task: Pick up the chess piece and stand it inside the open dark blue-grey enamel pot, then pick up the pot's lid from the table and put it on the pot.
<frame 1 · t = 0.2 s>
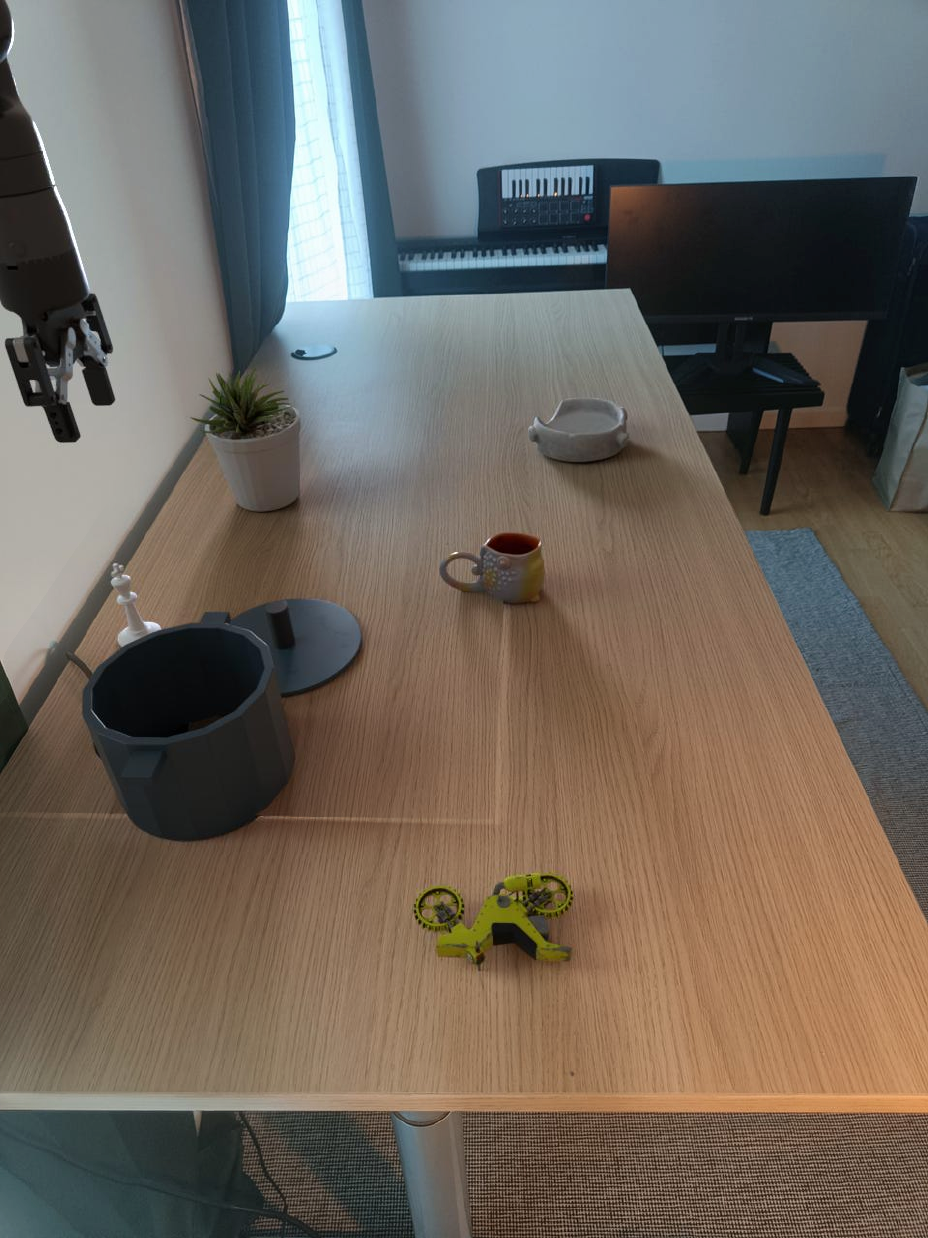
hand: (87, 421, 85), 25 cm above the table, tool pointing down, fingers open, 8 cm apart
dish: (582, 447, 131), on the table
pot: (209, 773, 80), on the table
mug: (493, 592, 101), on the table
chess piece: (141, 640, 97), on the table
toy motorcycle: (497, 937, 65), on the table
lid: (285, 646, 94), point 1 cm above the table
potted plant: (264, 500, 122), on the table
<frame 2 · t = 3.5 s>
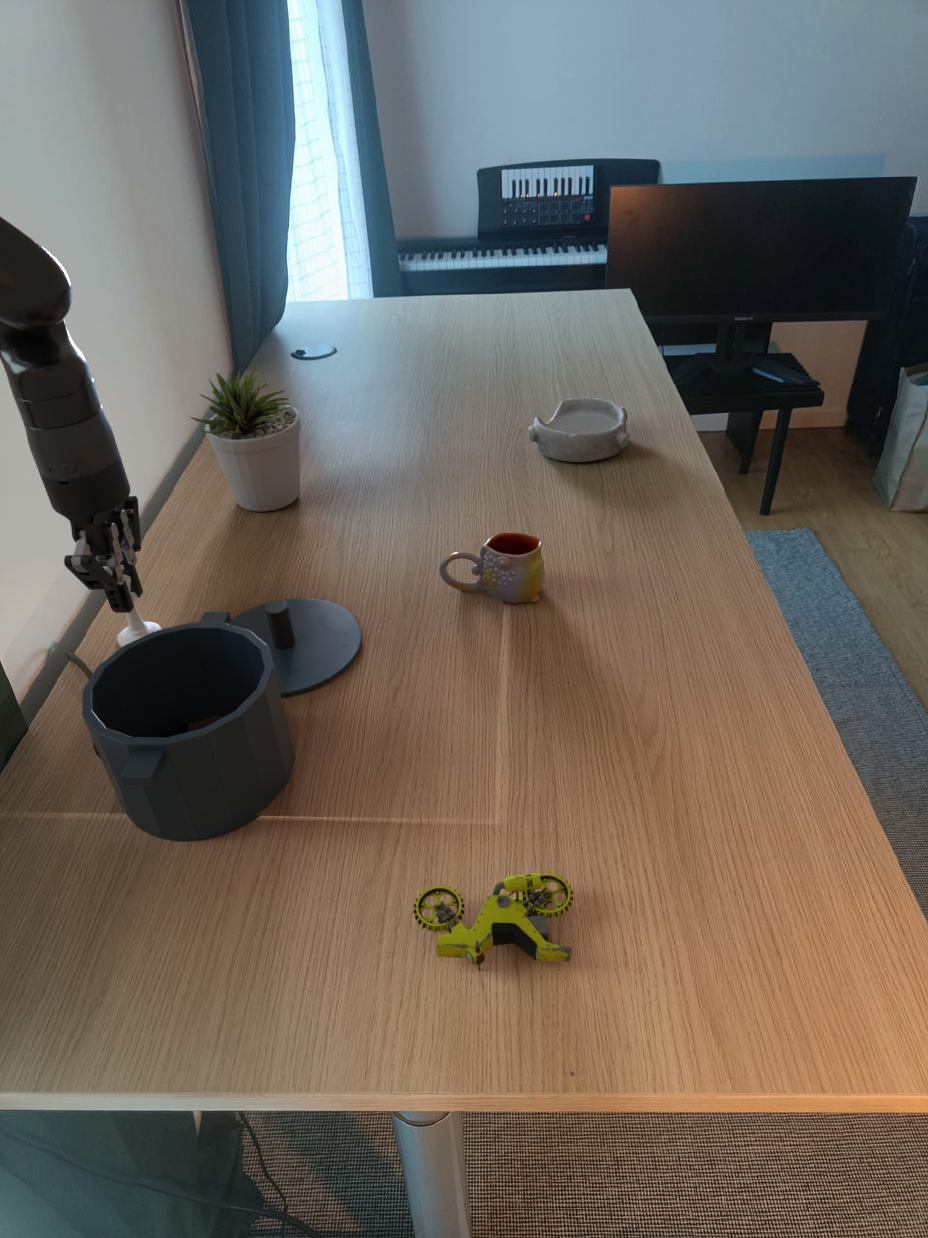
hand: (128, 602, 94), 5 cm above the table, tool pointing down, fingers closed on chess piece
chess piece: (141, 640, 97), on the table, touching gripper
everything else where it was.
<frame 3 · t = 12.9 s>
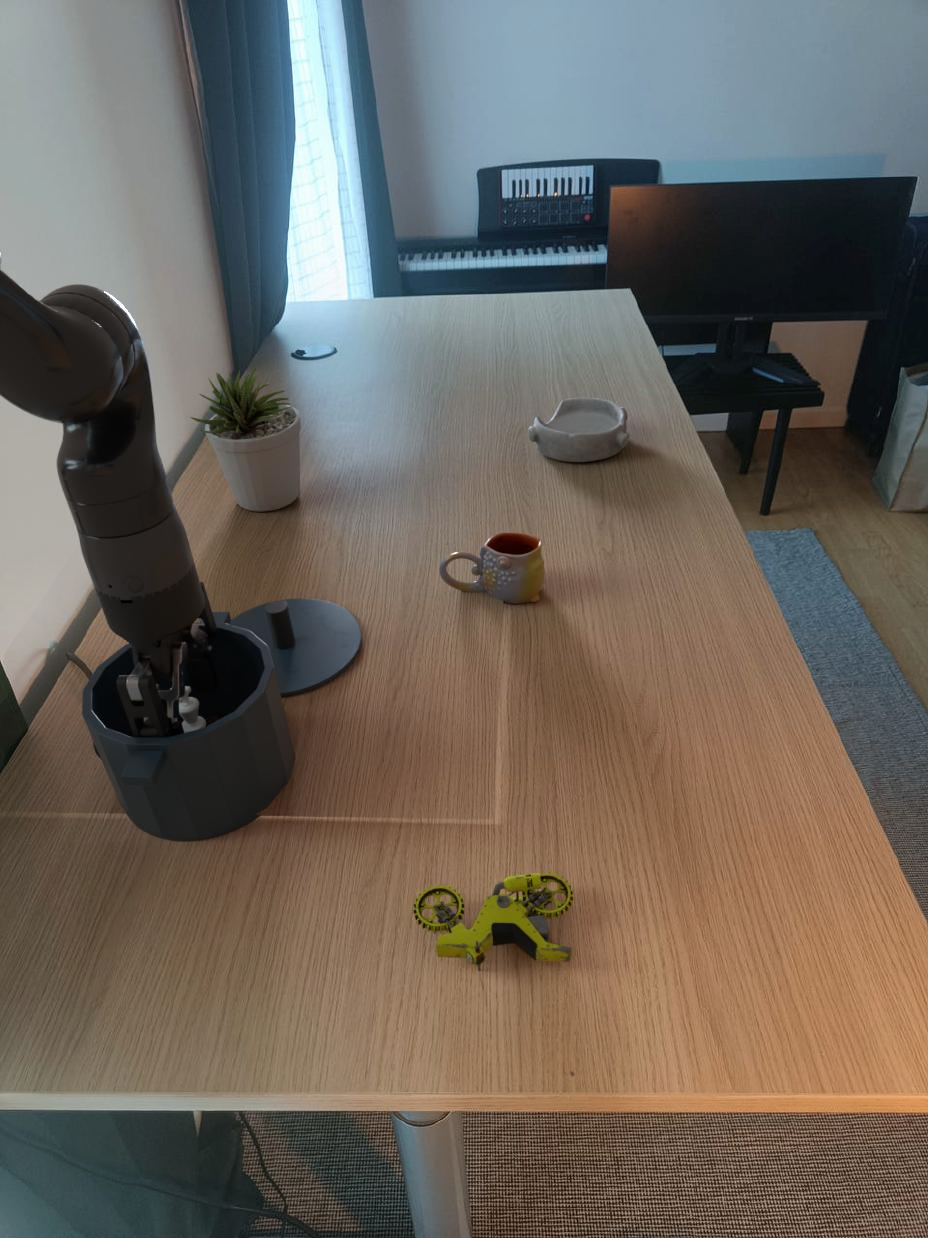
hand: (192, 721, 76), 7 cm above the table, tool pointing down, fingers open, 8 cm apart
chess piece: (208, 771, 80), resting on pot
everything else where it was.
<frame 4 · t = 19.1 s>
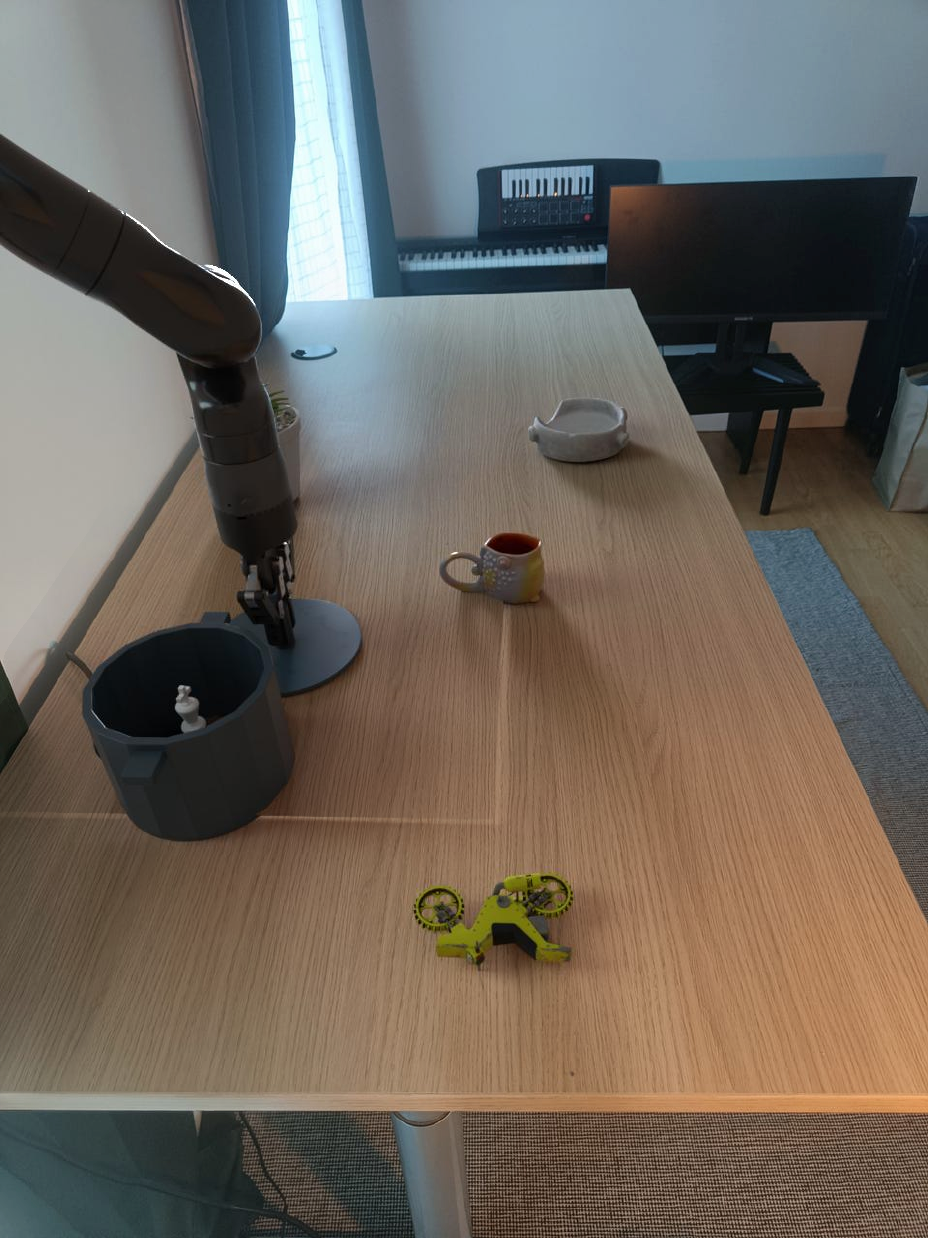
hand: (282, 634, 93), 2 cm above the table, tool pointing down, fingers closed on lid, 2 cm apart
lid: (285, 646, 94), point 1 cm above the table, touching gripper
everything else where it was.
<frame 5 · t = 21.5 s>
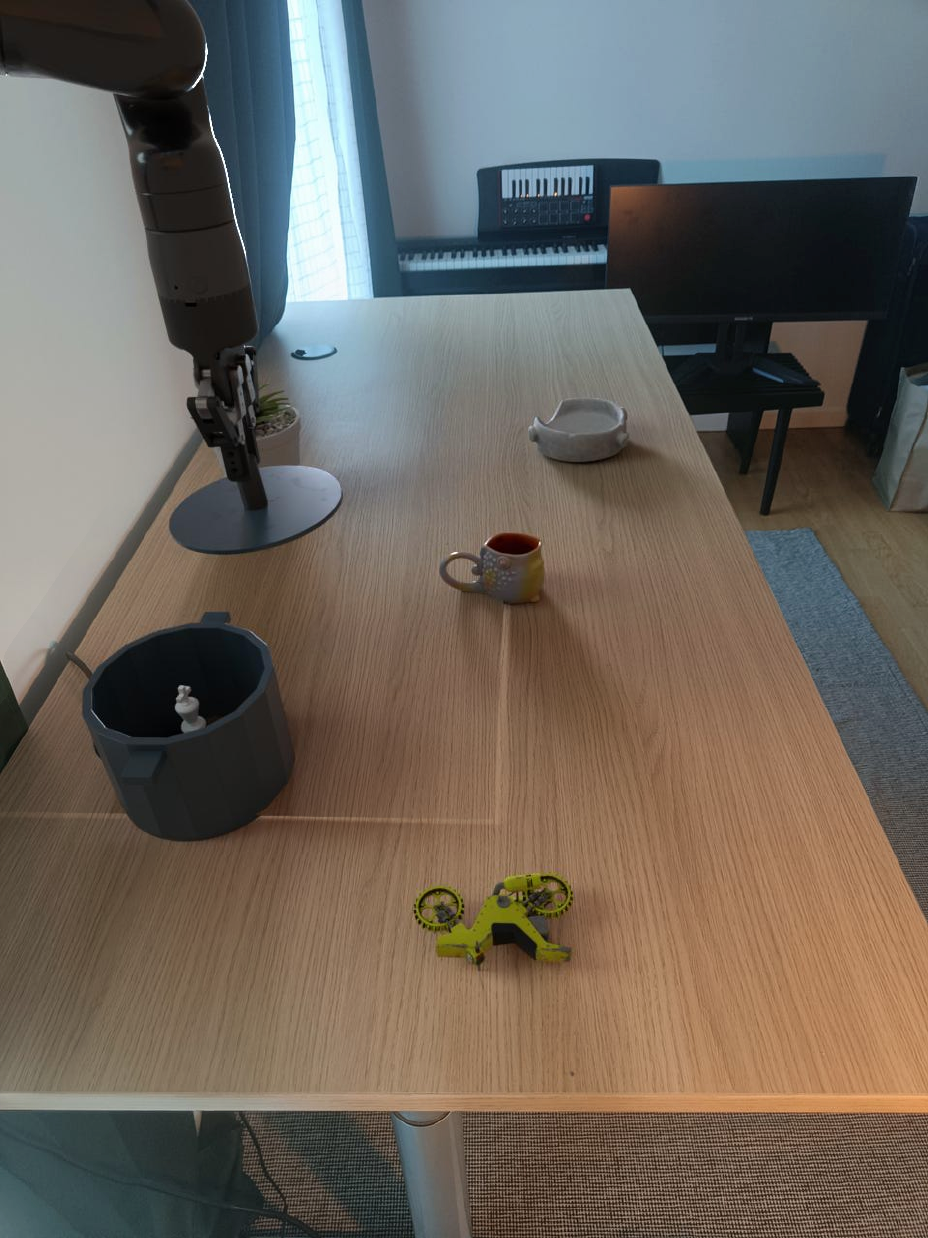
hand: (244, 472, 81), 22 cm above the table, tool pointing down, fingers closed on lid, 2 cm apart
lid: (257, 509, 83), point 18 cm above the table, touching gripper
everything else where it was.
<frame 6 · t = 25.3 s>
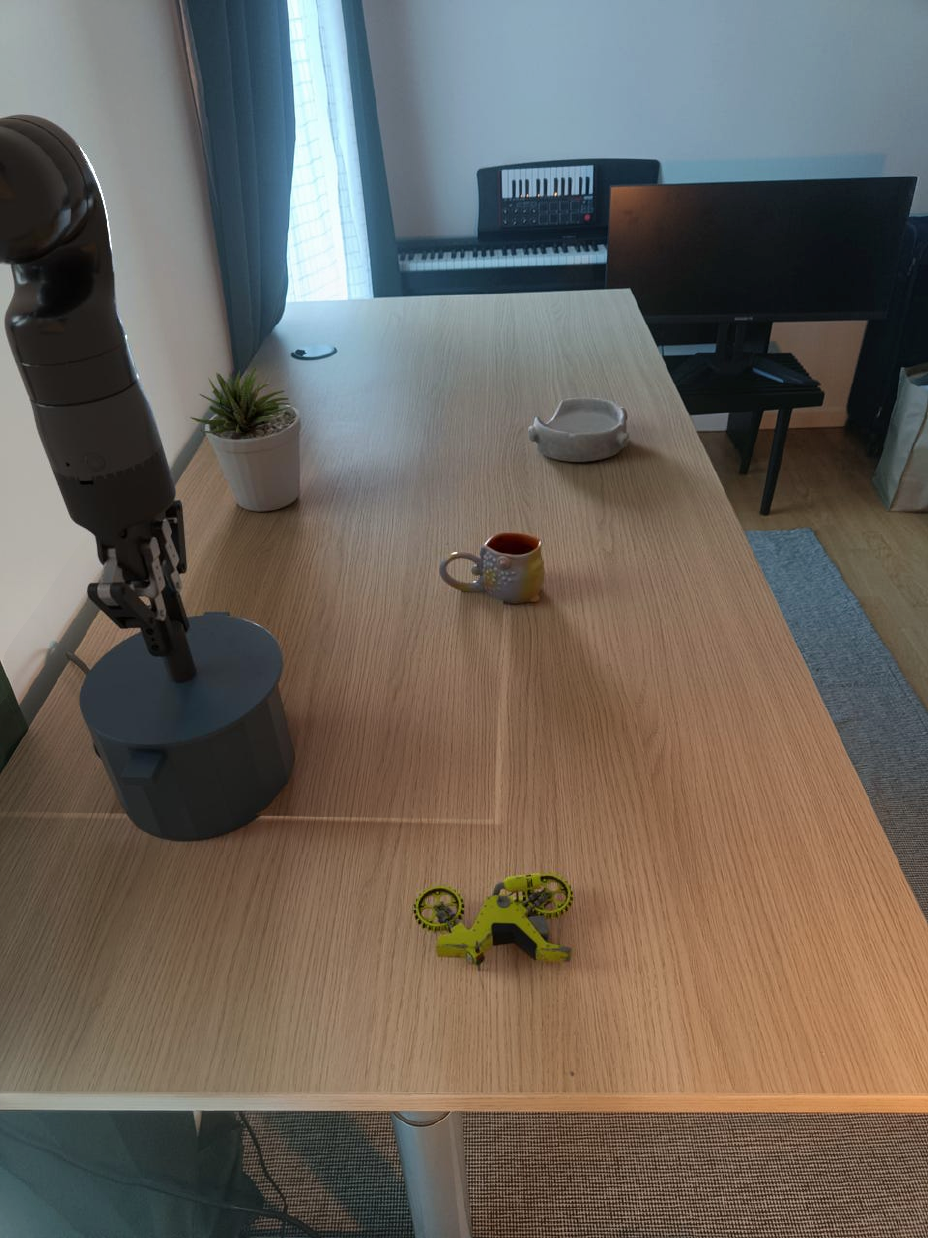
hand: (170, 642, 71), 15 cm above the table, tool pointing down, fingers closed on lid, 2 cm apart
lid: (184, 678, 73), point 11 cm above the table, touching gripper, pot
everything else where it was.
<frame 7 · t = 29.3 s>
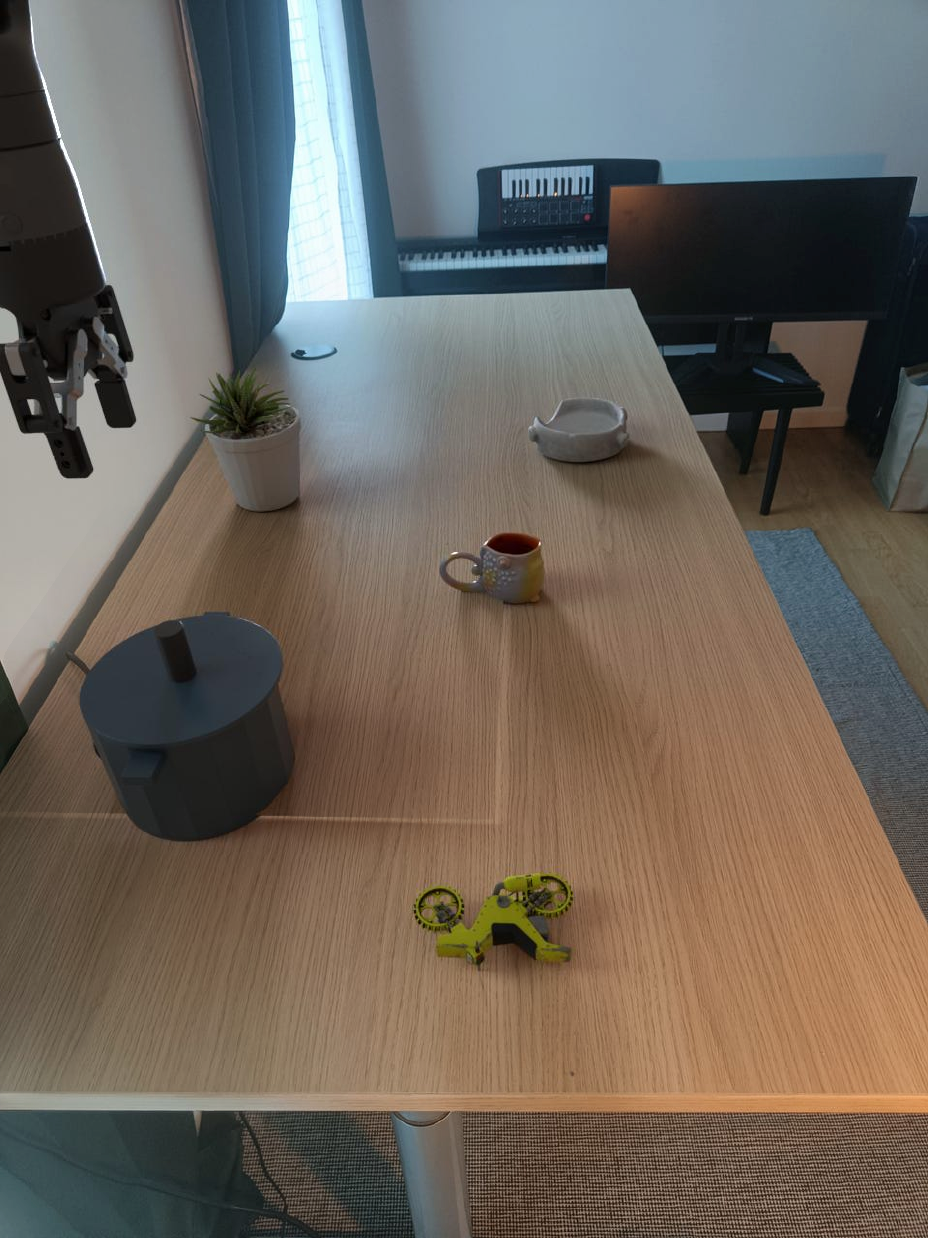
hand: (101, 450, 66), 30 cm above the table, tool pointing down, fingers open, 8 cm apart
lid: (184, 678, 73), point 11 cm above the table, touching pot
everything else where it was.
at the end: chess piece inside the target area in the pot (0.1 cm from its centre), point 0.3 cm above the pot's base; lid 0.5 cm off-centre on the pot, point 11.5 cm above the pot's base; lid tilted 0° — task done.
